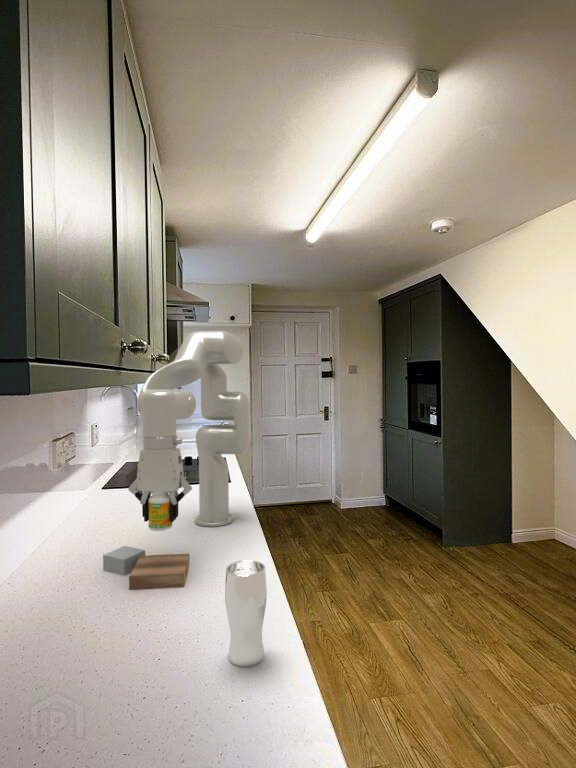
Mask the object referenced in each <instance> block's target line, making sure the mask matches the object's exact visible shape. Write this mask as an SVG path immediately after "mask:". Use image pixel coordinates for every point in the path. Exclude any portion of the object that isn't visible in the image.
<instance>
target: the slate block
mask: <svg viewBox="0 0 576 768" xmlns="http://www.w3.org/2000/svg"><path fill="white" fill-rule="evenodd" d="M140 556H146V549H141V548H138V547H137V548H136V547H132V546H128V545H127V546H126V545H123V546H120V547H119V548H116V549H114V550H112V551H110V552H107V553H105V554H102V560H103V561H102V564H103V565H102V567H103V568H102V570H103V571H105V572H109V573H114V574H116V575H121V576H126V575H128V574H131V572H132V570H133V568H134V566H135V565H136V563H137V561H138V559H139V557H140Z"/></svg>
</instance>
